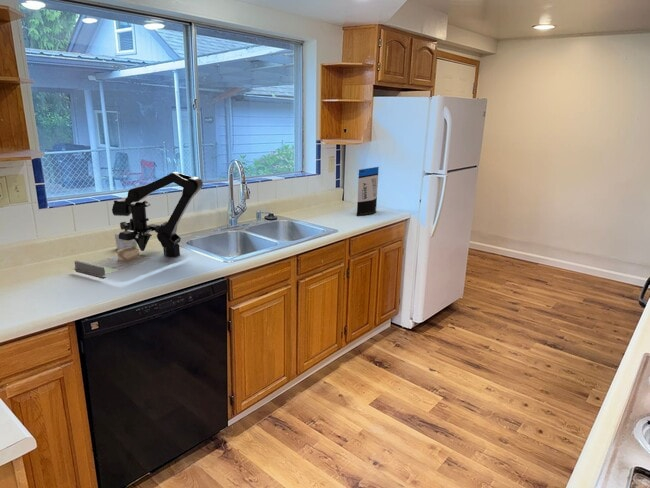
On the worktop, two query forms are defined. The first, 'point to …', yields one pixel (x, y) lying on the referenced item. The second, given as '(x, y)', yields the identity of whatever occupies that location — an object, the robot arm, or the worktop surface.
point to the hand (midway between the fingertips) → (142, 250)
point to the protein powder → (367, 191)
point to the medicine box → (124, 242)
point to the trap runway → (105, 266)
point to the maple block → (128, 254)
